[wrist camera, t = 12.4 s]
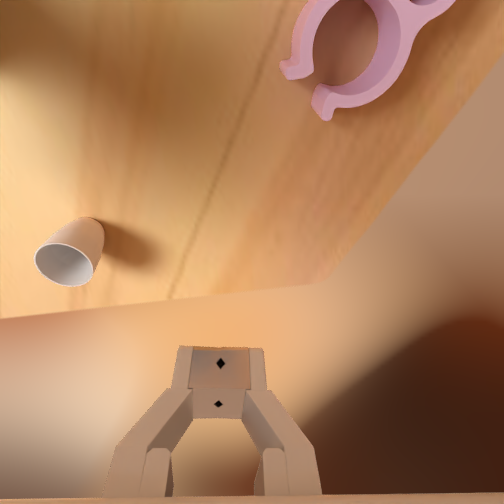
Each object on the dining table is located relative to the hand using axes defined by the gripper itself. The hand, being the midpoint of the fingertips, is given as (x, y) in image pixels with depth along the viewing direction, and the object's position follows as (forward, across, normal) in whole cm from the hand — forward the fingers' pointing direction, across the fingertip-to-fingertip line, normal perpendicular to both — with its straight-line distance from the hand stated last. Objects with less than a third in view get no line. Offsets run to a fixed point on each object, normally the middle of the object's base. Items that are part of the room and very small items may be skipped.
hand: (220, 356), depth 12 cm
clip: (+42, -15, -11) cm, 45 cm away
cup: (+41, +23, +22) cm, 52 cm away
